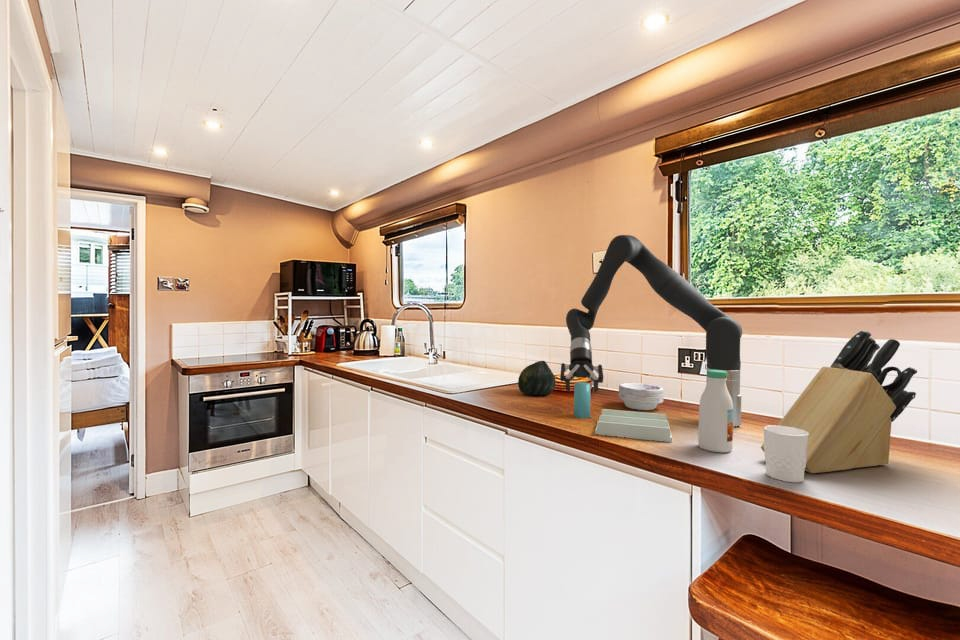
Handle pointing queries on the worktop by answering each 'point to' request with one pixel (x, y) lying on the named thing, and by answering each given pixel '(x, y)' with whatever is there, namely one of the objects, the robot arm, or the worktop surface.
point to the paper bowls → (641, 395)
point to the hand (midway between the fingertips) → (581, 390)
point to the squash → (537, 379)
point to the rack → (634, 425)
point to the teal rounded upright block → (582, 399)
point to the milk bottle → (716, 414)
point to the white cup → (785, 452)
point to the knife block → (851, 407)
